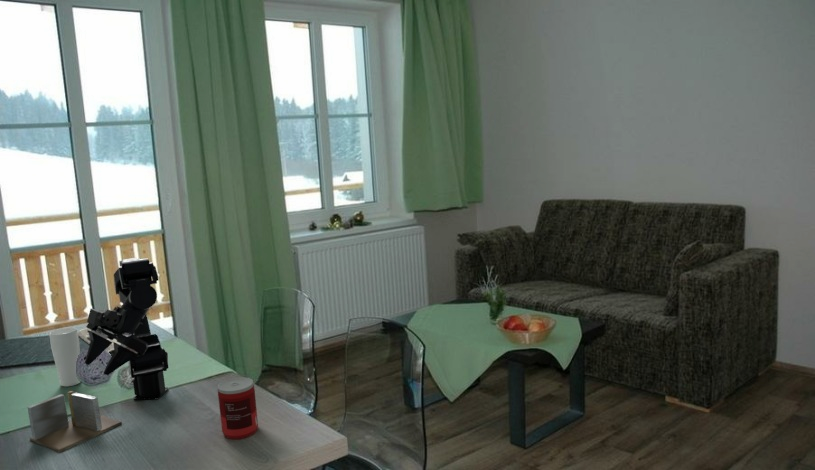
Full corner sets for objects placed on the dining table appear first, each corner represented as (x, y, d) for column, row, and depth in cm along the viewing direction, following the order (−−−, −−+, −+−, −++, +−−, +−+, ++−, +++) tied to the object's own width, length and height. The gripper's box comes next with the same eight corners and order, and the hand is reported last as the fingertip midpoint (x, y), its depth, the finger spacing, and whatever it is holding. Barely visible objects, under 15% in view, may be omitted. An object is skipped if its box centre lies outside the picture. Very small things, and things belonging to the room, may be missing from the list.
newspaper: (76, 336, 222) (75, 326, 221) (114, 327, 229) (113, 318, 229) (107, 360, 195) (105, 349, 194) (149, 349, 203) (147, 338, 202)
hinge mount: (91, 414, 155) (86, 380, 153) (121, 424, 148) (116, 388, 147) (30, 440, 143) (24, 403, 141) (59, 452, 136) (53, 414, 135)
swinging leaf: (75, 425, 147) (70, 394, 146) (80, 423, 148) (75, 392, 147) (97, 431, 143) (92, 399, 142) (102, 428, 144) (97, 397, 143)
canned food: (243, 420, 147) (238, 374, 145) (266, 429, 141) (261, 381, 140) (214, 433, 141) (209, 386, 139) (237, 443, 136) (231, 394, 134)
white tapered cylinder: (73, 388, 172) (65, 334, 169) (51, 388, 173) (43, 334, 171) (90, 379, 178) (82, 327, 176) (69, 378, 180) (61, 326, 177)
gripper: (88, 287, 154) (48, 345, 149) (127, 302, 143) (85, 366, 137) (124, 307, 162) (88, 364, 157) (164, 323, 151) (126, 385, 145)
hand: (95, 369), depth 149 cm, fingers open, 9 cm apart
